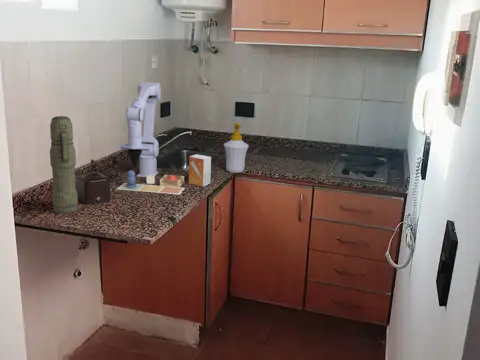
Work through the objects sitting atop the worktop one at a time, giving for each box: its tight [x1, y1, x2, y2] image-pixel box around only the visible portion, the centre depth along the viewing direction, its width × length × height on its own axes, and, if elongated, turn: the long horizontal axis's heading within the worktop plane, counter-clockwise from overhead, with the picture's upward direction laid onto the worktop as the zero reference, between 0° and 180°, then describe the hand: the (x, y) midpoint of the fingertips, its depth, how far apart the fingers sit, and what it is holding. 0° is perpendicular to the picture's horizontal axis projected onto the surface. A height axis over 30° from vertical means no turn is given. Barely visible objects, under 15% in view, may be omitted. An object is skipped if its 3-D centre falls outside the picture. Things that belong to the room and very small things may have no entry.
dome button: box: [166, 174, 178, 181], centre depth 222 cm, size 5×5×4 cm
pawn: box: [126, 169, 137, 188], centre depth 214 cm, size 4×4×8 cm
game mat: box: [116, 182, 186, 196], centre depth 214 cm, size 10×28×1 cm, turn 84°
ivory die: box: [145, 174, 156, 185], centre depth 223 cm, size 4×4×4 cm
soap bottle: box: [223, 122, 249, 174], centre depth 247 cm, size 13×13×25 cm
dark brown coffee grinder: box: [76, 155, 122, 206], centre depth 196 cm, size 16×11×18 cm
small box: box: [188, 153, 212, 188], centre depth 224 cm, size 8×6×13 cm
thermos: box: [49, 115, 79, 215], centre depth 179 cm, size 9×12×35 cm
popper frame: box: [159, 174, 185, 188], centre depth 222 cm, size 9×9×3 cm
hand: (135, 166), depth 213 cm, fingers closed
